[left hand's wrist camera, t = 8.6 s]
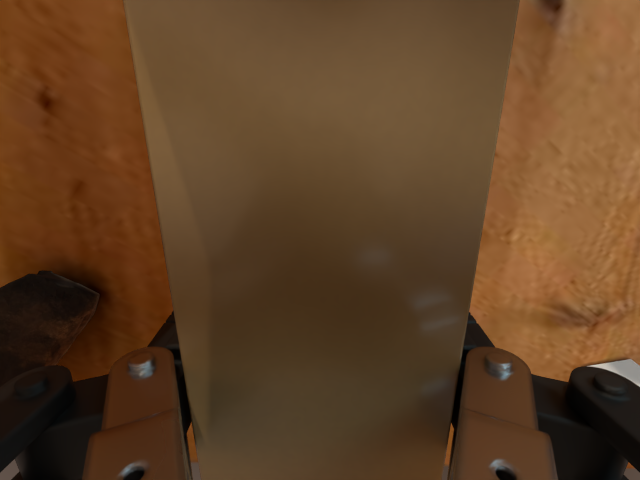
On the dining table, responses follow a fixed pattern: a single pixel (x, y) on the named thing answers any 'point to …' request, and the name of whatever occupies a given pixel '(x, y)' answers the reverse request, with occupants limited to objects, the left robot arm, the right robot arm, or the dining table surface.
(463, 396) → the left robot arm
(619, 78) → the dining table surface
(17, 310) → the decorative rock
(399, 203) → the box
